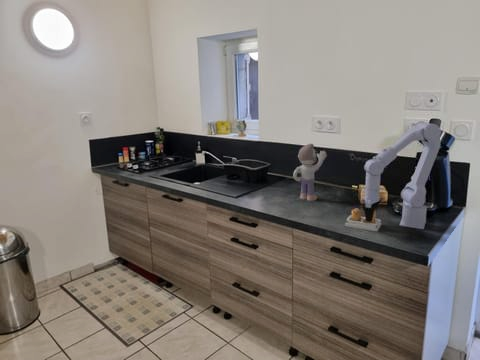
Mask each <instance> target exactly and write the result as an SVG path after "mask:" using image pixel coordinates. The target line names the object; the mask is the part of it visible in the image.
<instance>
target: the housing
mask: <svg viewBox="0 0 480 360" xmlns="http://www.w3.org/2000/svg"><path fill="white" fill-rule="evenodd" d="M365 220H366V217H365V216H362V210H361V209H359V208H356V207H355V208H354V209H351V214H349V216H348V217H347V218H346V220H345V224H344V226H345V227H347V228H353V229H359V230H365V231H371V232H379V229H380V228H381V226H382V221H381V220H382V219H381V218H375V224H372V223H365Z"/></svg>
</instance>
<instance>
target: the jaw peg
mask: <svg viewBox="0 0 480 360" xmlns="http://www.w3.org/2000/svg"><path fill="white" fill-rule="evenodd" d="M361 209H362V210H363V208H362V207H361ZM376 213H377V211H376V210H375V211H374V214H373V219H372V222H368V221H366V220H365V223H372V224H375V219H376Z"/></svg>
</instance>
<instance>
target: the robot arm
mask: <svg viewBox="0 0 480 360" xmlns="http://www.w3.org/2000/svg"><path fill="white" fill-rule="evenodd" d="M441 134H442V130H441V128H440V127H439V126H438V125H437V124H436V123H430V122H425V121H417V122H416V123H414V124H413V126H410V128H409V130H407V132H406V133H405V134H404V135H402V136H401V138H399V139H398V140H397V141H396V142H395V143H394V144H393V145H392V146H389V147H388V146H386V147H383V148H382V149H381V151H380V152H379V153H378V154H376V155H375V156H373V157H372V158H371V159H369V160H367V161H366V162H365V164H364V165H363V169H364V171H365V185H364V186H365V188H364V189H365V191H364V196H363V195H362V196H361V199H362V200H364V201H365V204H362V206H361V209H362V208H363V209H362V210H363V211H364V215H365V216H364V217H366V221H368V222H372V219H373V214H374V211H375V210H376V212H378V208H379V205H380V203H381V201H382V199H380V190H381V187H380V186H381V174H383V172H384V169H385V168H386V167H387V166H388V165H389V164H390V163H391V162H393V161H394V160H395V159H396V158H397V156H398V153H400V152H401V151H402V150H404V149H405V148H406V147H407V146H409V145H410V144H412V143H413V142H415V141H421V142H422V144H423V146H424V147H423V150H422V152H421V153H420V158H419V160H418V162H417V165H416V167H415V170H414V173H413V176H412V177H411V180H410V182H408V183H406V185H405V186H404V188H403V189H402V191H401V192H400V198H401V199H402V200H403V201H402V202H403V203H402V210H401V211H402V213H401V220H400V222H399V227H407V228H414V229H420V230H424V229H425V225H426V223H427V209H428V208H427V207H428V206H426V205H425V206H424V204H425V203H426V194H427V189H426V187H425V186H426V183H427V181H428V178H429V176H430V173H431V171H432V168H433V166H434V163H435V161H436V158H437V156H438V154H439V151H440V148H441V143H442V142H441Z"/></svg>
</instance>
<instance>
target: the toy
mask: <svg viewBox="0 0 480 360" xmlns="http://www.w3.org/2000/svg"><path fill="white" fill-rule="evenodd" d="M314 145H315V144H313V143H307V144H305V145H304V146H302V147H300V149H299V151H298V155H297V158H298V160H299V162H300V163H301V165H299V166H297V167H296V168H295V169H294V171H293V174H292V175H293V176H292V178H293V179H294V180H295V181H296V182H301V184H300V185H301V186H300V188H301V189H300V196H299V199H301V200H307V201H310V202H312V201H316V200H317V199H318V196H317V195H316V193H315V185H314V184H315V180H316V178H315V172H317V171H319V169H320V167H321V166H322V164H323V162H324V161H325V159H326V158H327V156H328V154H327V151H325V150H320V152H319V153H316V152H317V150H315V148H314ZM317 158H318V161H317ZM316 162H317V163H316ZM298 174H300V176H298Z"/></svg>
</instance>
